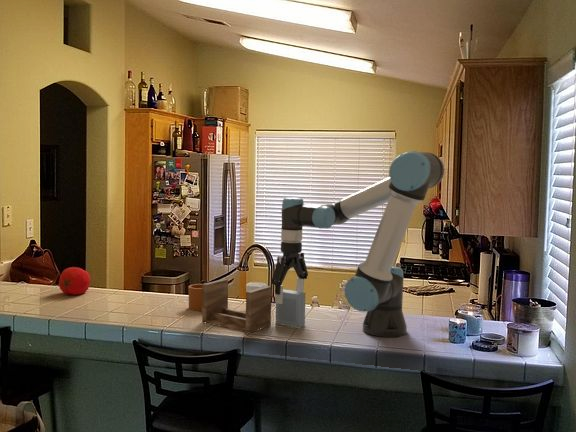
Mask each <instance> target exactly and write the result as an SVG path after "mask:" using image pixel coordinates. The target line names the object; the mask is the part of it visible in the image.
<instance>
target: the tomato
mask: <svg viewBox="0 0 576 432" xmlns="http://www.w3.org/2000/svg"><path fill="white" fill-rule="evenodd" d="M91 281H92V279H91V276H90V274H89V272H88V271H86V270H84V269H83V268H81V267H76V266H72V267H67V268H65V269H64V270H63V271H62V272H61V274H60V278H59V280H58V286H59V289H60V291H61V292H62V293H63V294H66V295H74V296H76V295H77V296H78V295H83V294H84V293H86V292H87V291H88V290H89V288H90V285H91Z"/></svg>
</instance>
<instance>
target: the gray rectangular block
mask: <svg viewBox="0 0 576 432" xmlns="http://www.w3.org/2000/svg"><path fill="white" fill-rule="evenodd" d="M276 323H278V324H277V325H281V324H283V325H282V326H286V325H287V326H286V327H291V326H292V328H296V327H297V328H296V329H300V328H302V326H303V327H305V326H306V292H305V291H304V292H298V291H296V290H291V289H284V288H283V303H282V304H279V303H275V324H276ZM299 327H300V328H299Z"/></svg>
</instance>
